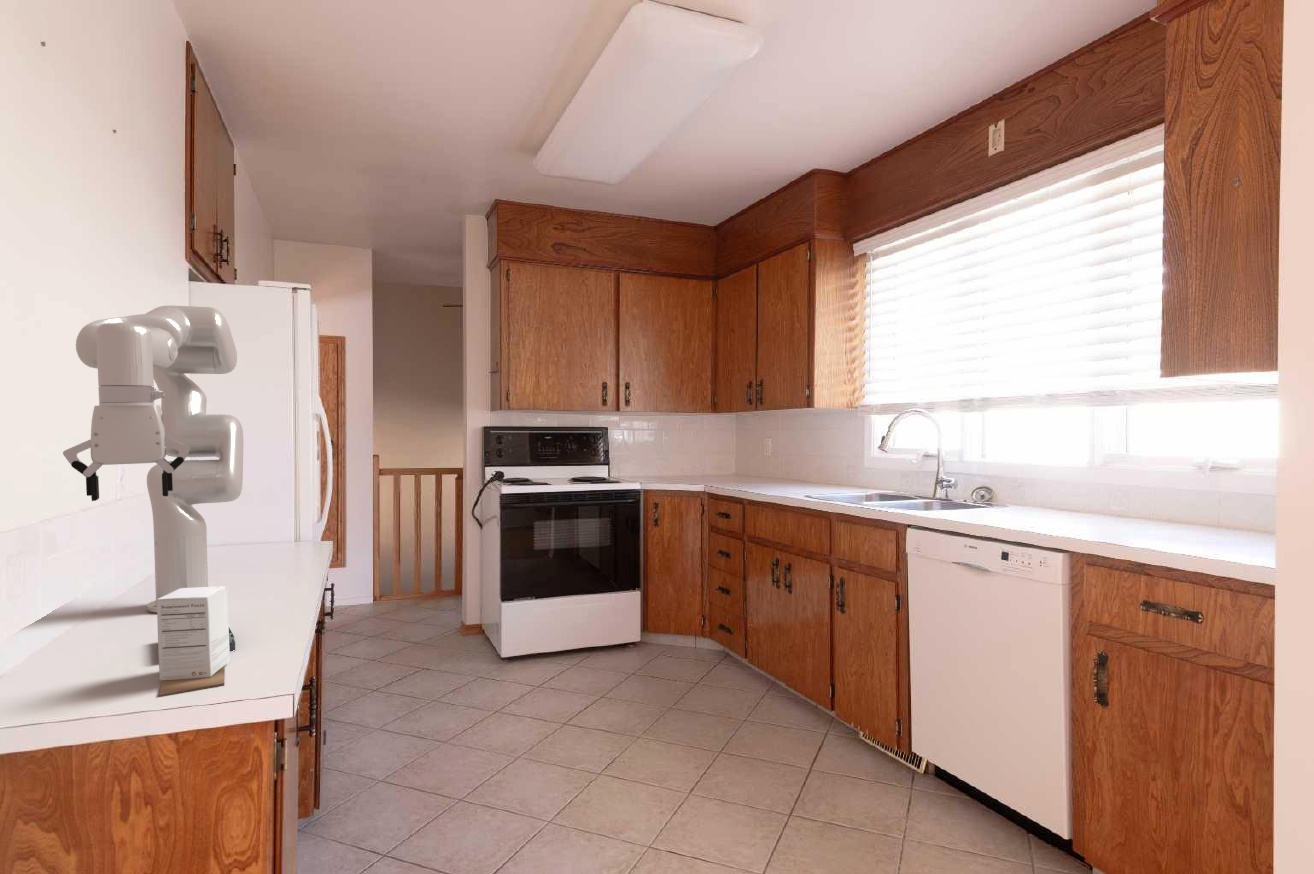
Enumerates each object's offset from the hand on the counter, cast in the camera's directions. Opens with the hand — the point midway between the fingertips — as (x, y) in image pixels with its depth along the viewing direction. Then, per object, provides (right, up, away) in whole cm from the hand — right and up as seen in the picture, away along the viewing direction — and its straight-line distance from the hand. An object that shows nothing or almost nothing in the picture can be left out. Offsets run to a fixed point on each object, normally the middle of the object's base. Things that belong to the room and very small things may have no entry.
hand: (131, 497), depth 120 cm
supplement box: (+17, -27, -9) cm, 33 cm away
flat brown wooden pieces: (+11, -27, +1) cm, 29 cm away
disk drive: (+8, -27, +5) cm, 29 cm away
